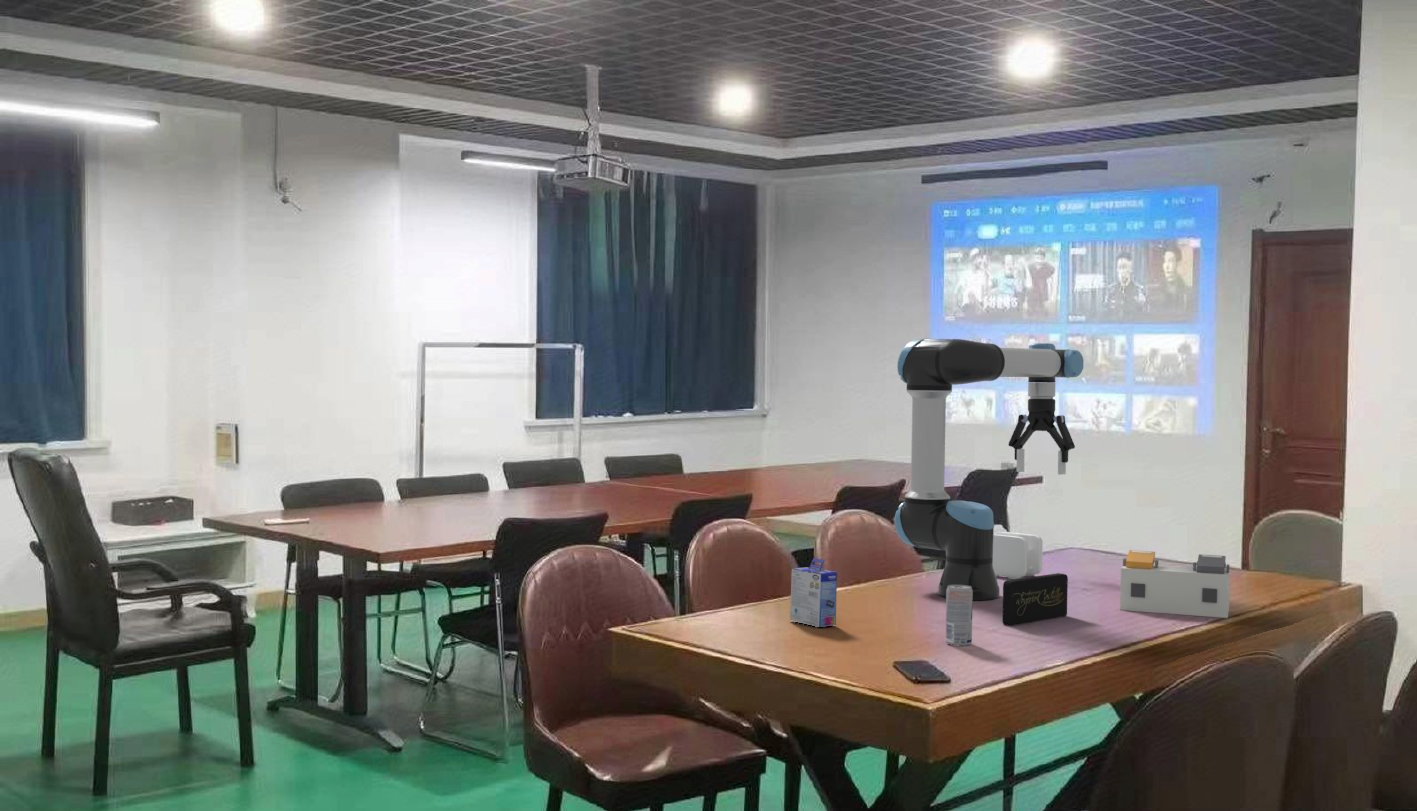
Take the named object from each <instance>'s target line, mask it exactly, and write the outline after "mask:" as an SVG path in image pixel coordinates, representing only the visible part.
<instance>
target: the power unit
mask: <svg viewBox="0 0 1417 811" xmlns="http://www.w3.org/2000/svg"><path fill="white" fill-rule="evenodd" d="M1126 559H1127V557H1123V558H1122V566H1121V568H1120V596H1119V598H1120V600H1119V602H1120V604H1119V605H1120V606H1119V607H1120V609H1119V610H1120V611H1132V612H1144V613H1159V614H1171V615H1182V616H1183V615H1184V616H1193V617H1194V616H1198V617H1210V618H1221V619H1228V618H1229V612H1230V585H1231V584H1230V582H1231V581H1230V580H1231V579H1230V578H1231V576H1230V575H1231V571H1230V570H1231V569H1230V566H1231V565H1230V564H1227V563H1226V567H1225V571H1224V574H1219V573H1204V572H1197V561H1196V562H1193V563H1192V566H1181V565H1165V564H1159V559H1155V562H1154V564H1153V568H1152V569H1143V568H1128V567H1126Z"/></svg>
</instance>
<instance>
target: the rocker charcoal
mask: <svg viewBox="0 0 1417 811" xmlns="http://www.w3.org/2000/svg"><path fill="white" fill-rule="evenodd" d="M1196 567H1197V572H1204V573H1219V574H1224V571H1225V569H1226V567H1227V563H1226V555H1215V554H1213V555H1212V554H1201V553H1200V554H1198V558H1197V561H1196Z"/></svg>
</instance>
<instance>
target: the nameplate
mask: <svg viewBox="0 0 1417 811" xmlns="http://www.w3.org/2000/svg"><path fill="white" fill-rule="evenodd" d="M1068 579H1069V578H1068V575H1067V574H1066V573H1059V572H1057V573H1051V574H1050V573H1049V574H1044V575H1038V576H1036V575H1034V576H1028V577H1021V578H1019V579H1008V580H1005V581H1004V582H1003V585H1002V624H1003V625H1005V626H1010V627H1013V626H1018V625H1024V624H1030V623H1031V624H1032V623H1035V622H1041V621H1047V620H1053V619H1058V618H1064V617H1066V616H1067V614H1068V587H1069V586H1068V581H1069V580H1068Z"/></svg>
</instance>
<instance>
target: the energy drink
mask: <svg viewBox="0 0 1417 811" xmlns="http://www.w3.org/2000/svg"><path fill="white" fill-rule="evenodd" d="M972 598H973V591H972V587H971V586H967V585H948V588H947V590H946V597H945V601H946V603H945V608H946V609H945V643H946V644H947V643H948V644H952V645H959V646H958V647H966V646H965V645H969V646H971V645H972V643H973V641H972V640H973V639H972V638H973V600H972ZM948 644H947V645H948ZM952 645H951V646H952Z"/></svg>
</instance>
